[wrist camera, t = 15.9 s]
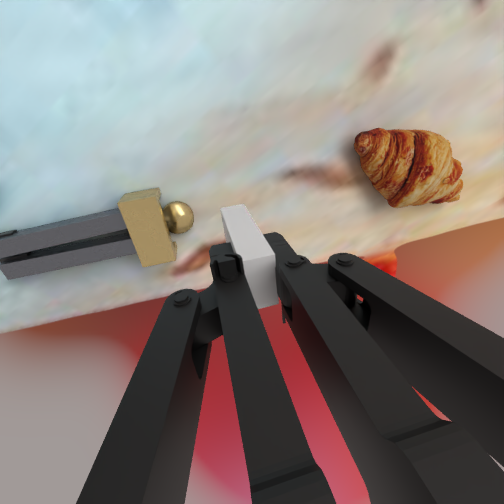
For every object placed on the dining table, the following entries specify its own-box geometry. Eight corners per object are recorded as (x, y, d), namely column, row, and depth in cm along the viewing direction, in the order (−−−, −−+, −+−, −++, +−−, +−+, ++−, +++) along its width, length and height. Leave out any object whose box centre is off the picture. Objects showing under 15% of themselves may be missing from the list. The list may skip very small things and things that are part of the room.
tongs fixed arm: (189, 198, 33) (189, 204, 31) (198, 233, 35) (198, 241, 33) (-8, 235, 30) (-24, 244, 28) (16, 270, 32) (4, 282, 30)
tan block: (158, 187, 31) (155, 196, 28) (177, 246, 35) (175, 260, 32) (124, 193, 31) (117, 203, 27) (147, 252, 35) (142, 267, 31)
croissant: (440, 171, 43) (501, 156, 36) (429, 229, 42) (489, 225, 35) (343, 116, 35) (396, 81, 28) (328, 186, 34) (378, 169, 27)
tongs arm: (150, 199, 32) (147, 204, 30) (156, 217, 33) (154, 223, 31) (-12, 235, 30) (-26, 244, 28) (2, 253, 31) (-11, 262, 29)
